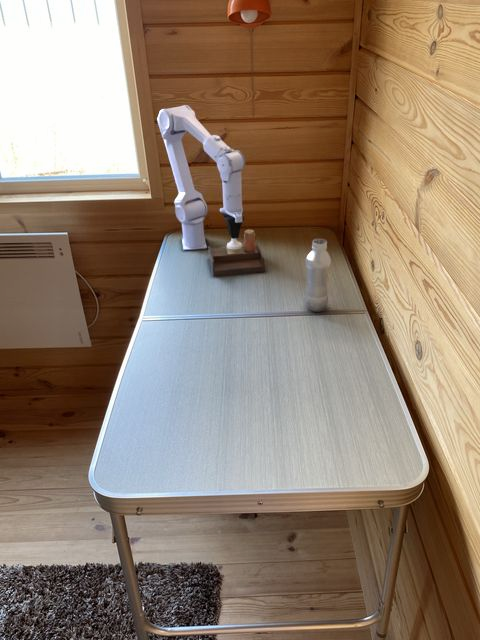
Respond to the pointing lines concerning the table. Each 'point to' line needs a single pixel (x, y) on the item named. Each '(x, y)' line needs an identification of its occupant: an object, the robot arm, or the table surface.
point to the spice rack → (235, 261)
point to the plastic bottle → (317, 276)
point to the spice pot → (249, 240)
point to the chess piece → (234, 244)
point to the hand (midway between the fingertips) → (233, 236)
